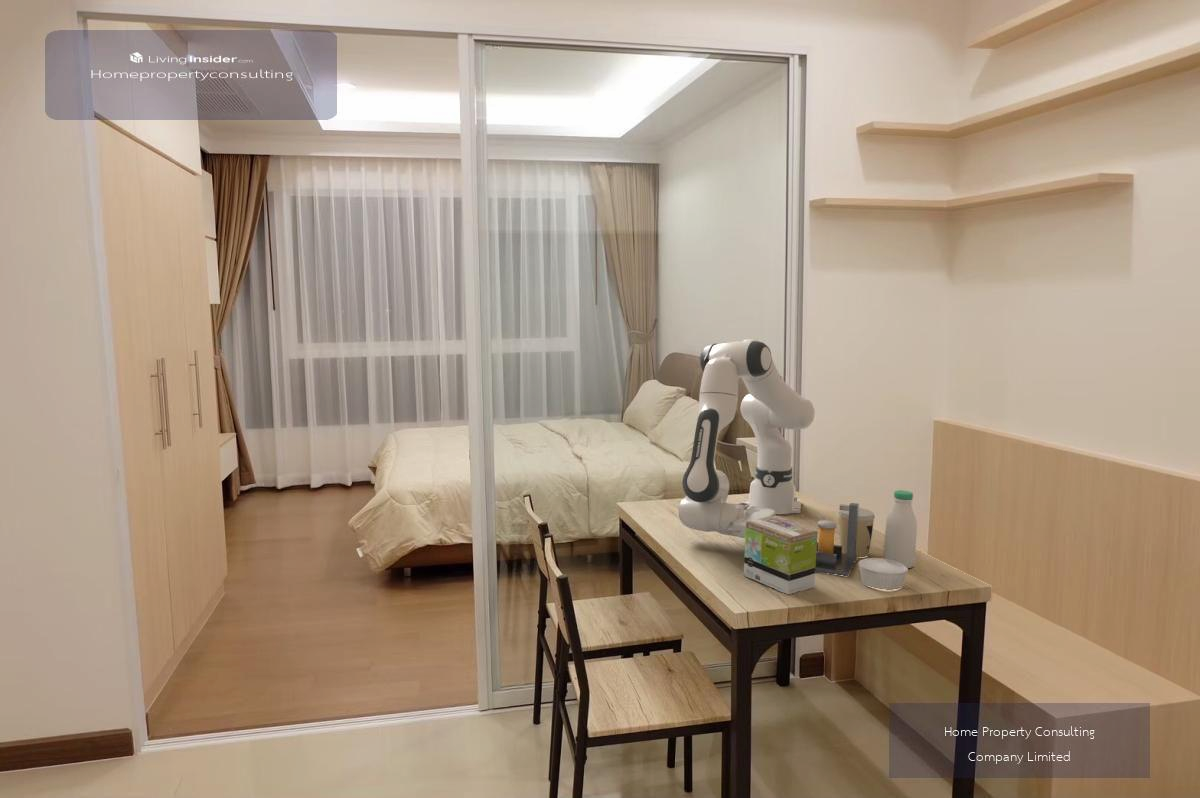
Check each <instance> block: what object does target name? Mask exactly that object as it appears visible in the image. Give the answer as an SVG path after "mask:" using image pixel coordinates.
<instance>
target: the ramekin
mask: <svg viewBox="0 0 1200 798" xmlns="http://www.w3.org/2000/svg"><path fill="white" fill-rule="evenodd" d="M858 567H859V572H860V573H859V574H860V580H861V583H862V584H863V585H864V584H865V585H867V586H870V587H874V588H879V589H886V590H893V589H899V588H901V587H902V588H903V586H904V583H905V581H906V576H907V575H908V571H909V569H907V567H906V566H904V565H903V564H901V563H899V562H896V561H892V560H888V559H884V558H881V557H866V558H862V559H861V560H859V562H858ZM865 585H864V586H865ZM902 588H901V589H902Z"/></svg>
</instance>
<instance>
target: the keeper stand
mask: <svg viewBox="0 0 1200 798" xmlns="http://www.w3.org/2000/svg"><path fill="white" fill-rule="evenodd" d="M859 505H860V504H859V503H855V502H850V503H849V504H845V503H840V505H839V511H840V510H844V511H849V521H848V537H847V553H846V554H843V553H842V547H843V546H840V544H834V550H833V554H831V553H825V552H819V551H818V541H817V551H816V567H815V571H816V572H815V573H821V572H822V573H821V574H827V573H829V574H828V575H832V574H837V575H836V576H838V575H843V576H842V577H844V576H848V577H849V575H850V573H851V571H852V570H851V569H853V568H854V566H855V564H856V562H857V559H858V558H857V556H856V542H857V527H858V511H859V507H860V506H859ZM855 561H856V562H855ZM852 567H853V568H852ZM850 570H851V571H850ZM849 572H850V573H849ZM848 574H849V575H848Z"/></svg>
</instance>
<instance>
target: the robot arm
mask: <svg viewBox="0 0 1200 798" xmlns="http://www.w3.org/2000/svg"><path fill="white" fill-rule="evenodd" d="M699 357H700V358H699V366H700V369H701V371H702V373H703V374H702V377H701V382H700V389H699V395H698V396H699V397H698V398H699V399H698V413H697V418H696V419H697V422H696V427H695V433H694V439H693V446H692V450H691V452H692V453H691V458H690V461H689V464H688V467H687V468H686V470H685V472H684V474H683V477H682V484H681V485H682V490H683V492H684V493H685V495H686V496H685V497H684V498H682V500H680V502H679V505H678V516H679V520H680V522H681V524H682V525H684V526H685V527H687V528H689V529H692V530H696V531H701V532H706V533H707V532H708V533H709V532H712V533H713V532H715V533H718V534H720V535H725V536H731V537H732V536H733V537H738V538H741V539H745V538H746V521H747V522H748V521H753V520H757V519H761V518H765V517H770V516H774V517H777V518H780V519H783V520H786V521H789V519H787V518H782V517H781V516H778V515H789V514H801V509H802V500H801V499H798V497H796V486H795V484H794V482H793V467H792V453H793V449H792V445H791V443H790V442H789V441H788V440H787V439H785V438H784V437H783V436H782V434H781V431H780V429H785V430H803V429H807V428H808V427H810V426H811V424H812V423H813V421H814V418H815V414H816V413H815V408H814V407H815V406H814V405H813V403H812V401H811V400H809V399H808V398H805V397H804V396H801V395H800V394H799V393H797V392H796V391H795V390H794V389H793V388H791V387H790V386H789V385H788V384H787V383H786V382H785V381H784V379H783V378H782V376H781V374H780V373H779V371H778V368H777V366H776V364H775V362H774V360H773V358H772V352H771V349H770V347H769V346H768V345H767V344H766V343H764V342H762V341H759V340H758V339H756V338H747V339H743V340H737V341H736V340H735V341H731V342H730V341H728V342H723V343H712V344H709V345H707V346H705V347H704V349H702V351H701V353H700V356H699ZM740 378H741V380H742V382H743V384H744V385H745V387H746V389H747V391H748V394H746V395H745V396H744V398H742V401H741V404H740V414H741V417H743V419H744V420H745V422H747V424H748V425H749V426H750V428H751V429H752V431H753V434H754V437H755V441H756V446H757V448H756V449H757V450H756V451H757V454H756V455H757V459H756V461H757V462H756V464H757V465H756V466H755V471H754V473H755V475H754V476H755V479H754V480H752V482H750V486H749V497H748V500H747V501H745V502H742V503H729V502H727V498H728V496H729V492H730V485H731V484H730V479H729V477H728V476H727V474H726V473H724V471H722V470H720V469H716V467H715V458H716V451H717V445H718V438H719V435H720V433H721V431H722V430H723V429H724V428H725V427H726V426H728V425H729V424H731V422H733V421H734V419H735V416H736V412H737V408H738V401H739V399H738V398H739V379H740ZM789 522H790V521H789Z"/></svg>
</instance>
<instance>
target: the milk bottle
mask: <svg viewBox="0 0 1200 798" xmlns="http://www.w3.org/2000/svg"><path fill="white" fill-rule="evenodd" d="M893 492H894V493H893V497H894V498H893V500H894V503H893V505H892V508H891V510H890V511H889V514H888V516H887V518H886V522H885V533H884V545H883V559H888V560H892V561H896V562H899V563H901V564H903V565H904V566H906V567H907V568H911V567H913V568H914V567H915V560H916V559H915V557H916V546H917V545H916V544H917V533H918V532H917V531H918V529H917V528H918V527H917V517H916V515H915V513H914V510H913V507H912V502H913V499H914V494H913V492H911V491H909V490H895V491H893ZM911 569H912V568H911Z"/></svg>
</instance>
